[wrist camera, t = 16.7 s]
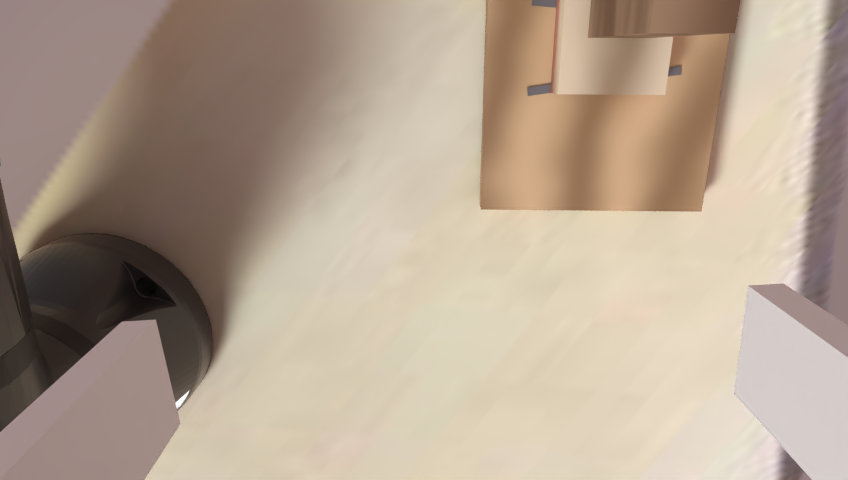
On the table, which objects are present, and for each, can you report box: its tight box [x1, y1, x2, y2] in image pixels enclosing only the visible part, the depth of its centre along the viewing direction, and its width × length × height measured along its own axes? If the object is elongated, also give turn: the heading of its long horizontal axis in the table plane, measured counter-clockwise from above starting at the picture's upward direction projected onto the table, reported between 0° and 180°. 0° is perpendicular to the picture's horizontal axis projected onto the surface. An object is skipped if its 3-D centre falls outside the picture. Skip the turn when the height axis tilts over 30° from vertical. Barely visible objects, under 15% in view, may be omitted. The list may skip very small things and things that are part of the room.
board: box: [480, 0, 730, 211], centre depth 34 cm, size 14×22×2 cm, turn 0°
